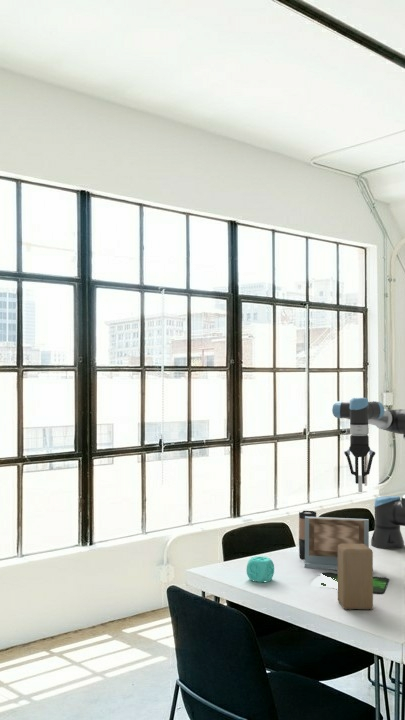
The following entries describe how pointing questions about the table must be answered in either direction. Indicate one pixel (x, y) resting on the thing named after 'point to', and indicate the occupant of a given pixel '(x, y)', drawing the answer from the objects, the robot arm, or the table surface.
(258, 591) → the table surface
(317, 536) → the walnut frame
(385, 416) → the robot arm
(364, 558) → the wooden block
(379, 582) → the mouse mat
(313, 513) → the travel mug
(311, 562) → the grey board
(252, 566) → the decorative dice
